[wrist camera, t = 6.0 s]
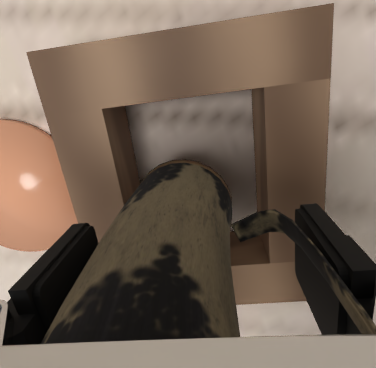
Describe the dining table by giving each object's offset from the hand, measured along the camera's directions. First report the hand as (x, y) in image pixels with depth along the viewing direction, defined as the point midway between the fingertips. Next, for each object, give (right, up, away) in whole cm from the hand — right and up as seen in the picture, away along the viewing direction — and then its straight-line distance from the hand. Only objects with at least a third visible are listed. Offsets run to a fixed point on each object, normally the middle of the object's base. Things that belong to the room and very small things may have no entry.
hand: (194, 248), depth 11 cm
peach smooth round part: (-13, +2, +9) cm, 16 cm away
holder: (0, +3, +8) cm, 9 cm away
